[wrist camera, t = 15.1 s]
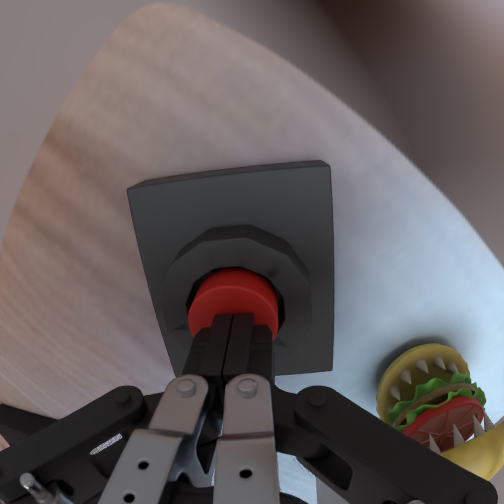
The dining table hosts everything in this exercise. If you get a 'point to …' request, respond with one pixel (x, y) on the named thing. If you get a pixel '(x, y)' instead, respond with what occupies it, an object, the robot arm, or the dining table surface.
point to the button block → (243, 250)
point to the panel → (20, 424)
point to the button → (234, 299)
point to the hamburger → (441, 408)
